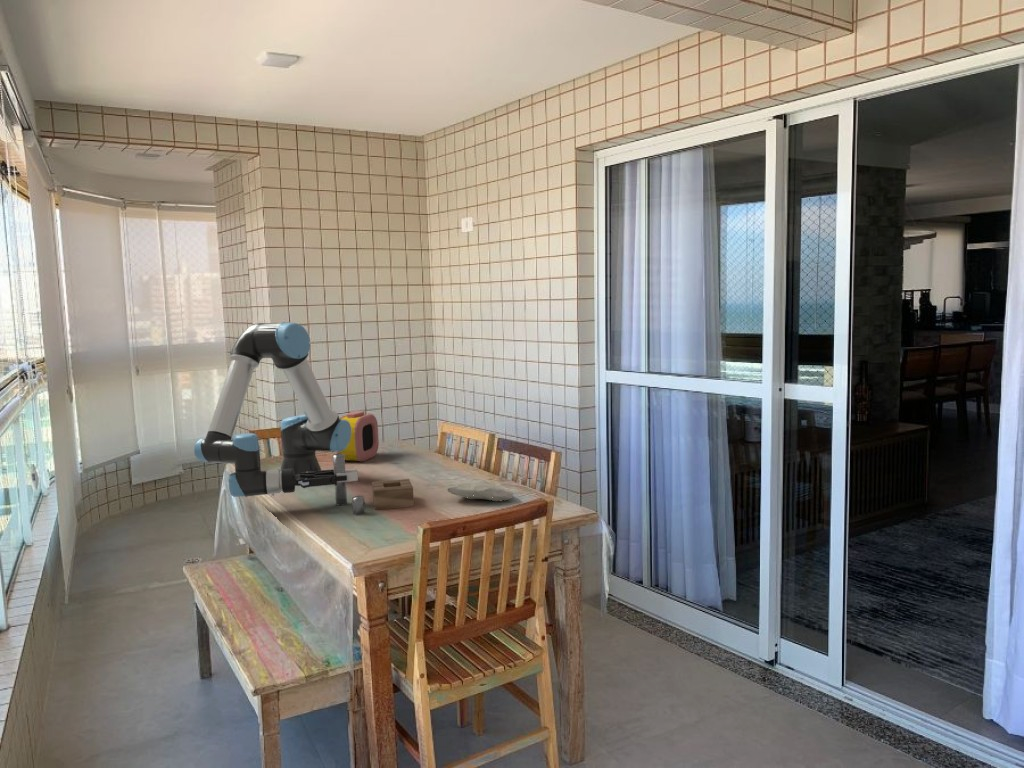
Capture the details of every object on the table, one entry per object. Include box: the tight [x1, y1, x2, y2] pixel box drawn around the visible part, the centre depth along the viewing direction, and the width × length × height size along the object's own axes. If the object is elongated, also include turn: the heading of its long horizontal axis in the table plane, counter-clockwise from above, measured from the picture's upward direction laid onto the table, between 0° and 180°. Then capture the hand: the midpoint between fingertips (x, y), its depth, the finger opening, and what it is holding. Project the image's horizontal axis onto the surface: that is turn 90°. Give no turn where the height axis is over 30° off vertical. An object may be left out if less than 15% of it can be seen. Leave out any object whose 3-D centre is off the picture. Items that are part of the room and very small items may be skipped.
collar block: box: [371, 478, 415, 511], centre depth 246 cm, size 12×12×6 cm
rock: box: [446, 479, 514, 502], centre depth 249 cm, size 24×6×20 cm
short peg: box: [351, 495, 366, 516], centre depth 236 cm, size 4×4×5 cm
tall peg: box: [332, 453, 348, 506], centre depth 247 cm, size 4×4×16 cm
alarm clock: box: [336, 410, 380, 462], centre depth 314 cm, size 18×11×19 cm, turn 164°
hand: (357, 474), depth 248 cm, fingers closed on tall peg, 3 cm apart
